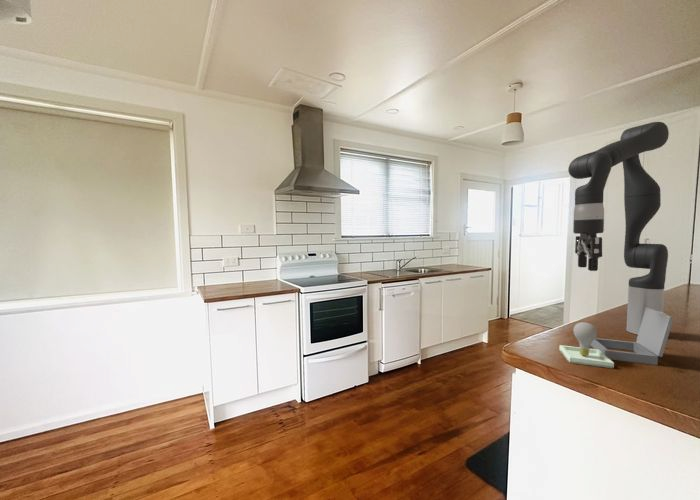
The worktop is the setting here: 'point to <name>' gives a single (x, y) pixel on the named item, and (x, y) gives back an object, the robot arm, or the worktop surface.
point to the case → (638, 357)
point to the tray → (586, 357)
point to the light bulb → (585, 336)
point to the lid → (654, 331)
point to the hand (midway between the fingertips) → (587, 268)
